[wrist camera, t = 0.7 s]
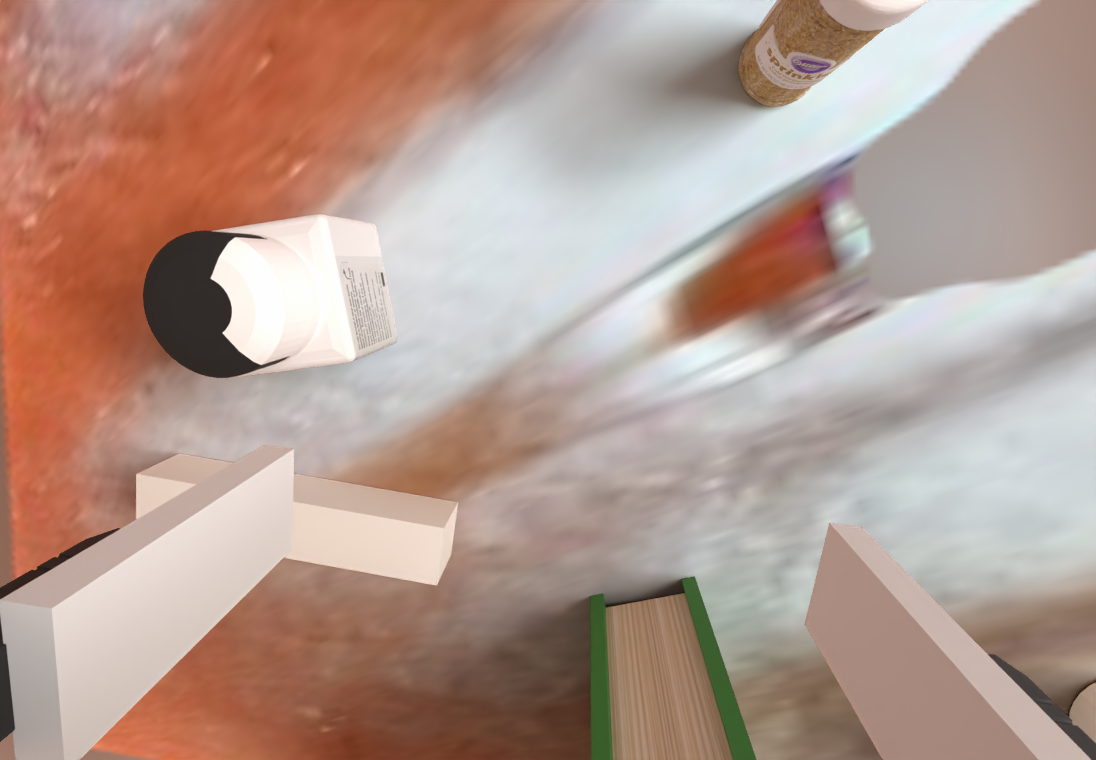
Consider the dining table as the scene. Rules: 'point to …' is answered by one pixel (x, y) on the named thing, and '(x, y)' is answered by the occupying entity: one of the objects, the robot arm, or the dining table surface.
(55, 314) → the dining table surface
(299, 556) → the white rectangular bar
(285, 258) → the container
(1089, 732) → the cup
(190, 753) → the dining table surface
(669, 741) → the hardback book
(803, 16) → the sprinkles bottle
